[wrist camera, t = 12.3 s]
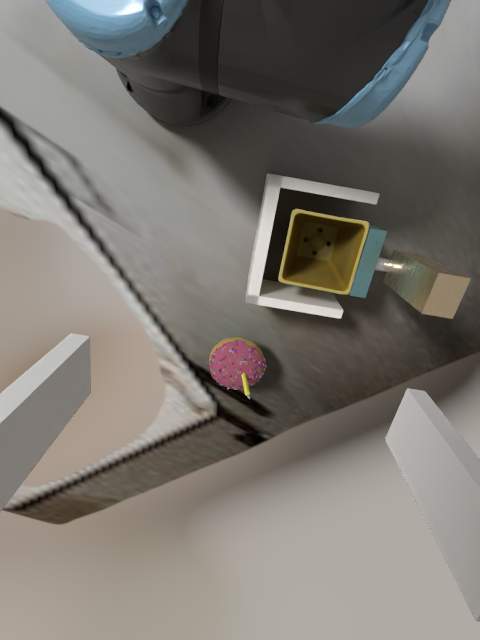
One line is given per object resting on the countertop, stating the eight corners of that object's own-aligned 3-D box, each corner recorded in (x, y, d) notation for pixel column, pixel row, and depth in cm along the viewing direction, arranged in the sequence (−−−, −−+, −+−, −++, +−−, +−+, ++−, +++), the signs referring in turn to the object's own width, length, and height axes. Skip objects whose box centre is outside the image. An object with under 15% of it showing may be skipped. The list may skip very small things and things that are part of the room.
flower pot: (278, 265, 49) (277, 282, 41) (291, 203, 46) (292, 208, 37) (338, 276, 49) (349, 296, 40) (356, 215, 45) (371, 222, 37)
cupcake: (271, 335, 54) (276, 376, 42) (254, 378, 57) (255, 426, 46) (220, 320, 53) (211, 357, 42) (206, 364, 56) (194, 410, 45)
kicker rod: (350, 219, 45) (403, 242, 29) (400, 228, 45) (480, 256, 29) (333, 276, 48) (373, 325, 32) (381, 284, 48) (444, 337, 32)
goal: (266, 174, 44) (269, 173, 37) (359, 190, 45) (379, 193, 37) (246, 284, 50) (245, 302, 43) (328, 298, 51) (340, 318, 43)
